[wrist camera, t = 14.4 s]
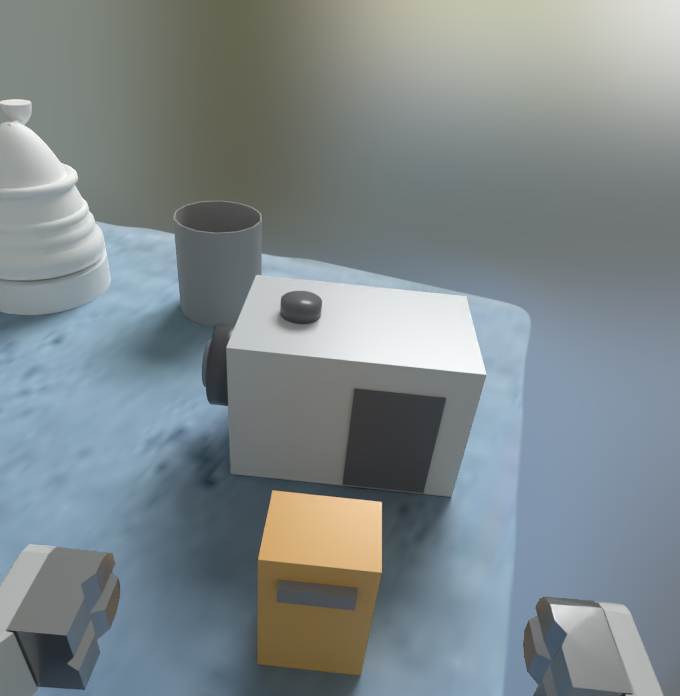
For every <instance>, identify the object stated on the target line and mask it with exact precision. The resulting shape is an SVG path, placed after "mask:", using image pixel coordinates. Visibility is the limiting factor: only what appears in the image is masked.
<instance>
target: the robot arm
mask: <svg viewBox="0 0 680 696" xmlns="http://www.w3.org/2000/svg"><path fill="white" fill-rule="evenodd" d="M114 565H115V561H114V558H113V554H112V553H107V552H98V551H88V550H79V549H70V548H61V547H56V546H45V545H35V544H29V545H28V546H27V547H26V548H25V549H24V550H23V551H22V552H21V553H20V554H19V556H18V557H17V559H16V561H15V562H14V564H13V565H12V567H11V569H10V570H9V572H8V574H7V575H6V577H5V578H4V580H3V582H2V583H1V585H0V696H32V695H33V694H34V693H35V692H36V691H37V689H38V688H37V686H38V687H52V688H65V689H79V690H85V688H86V686H87V684H88V681H89V679H90V676H91V674H92V671H93V669H94V667H95V664H96V662H97V659H98V657H99V654H100V650H99V646H98V643H97V639H98V638H99V637H101V636H102V635H103V634H104V633H105V632H107V631H108V630H109V629H110V627H111V625H112V622H113V620H114V617H115V614H116V611H117V606H118V602H119V598H120V584H119V579H118V577H117V576H115V575H114V574H113V573H112V570H113V568H114ZM536 611H537V616H536V617H534V618H532V619H530V620H529V621H528V624H527V626H526V628H525V631H524V642H523V647H524V658H525V663H526V667H527V672H528V673H529V674H530V675H531V676H532V678H533V679H534V680H535V681H536V683H537V684H538V686H537V688H536V691H535V693H534V695H533V696H663V693H662V691H661V688H660V685H659V683H658V681H657V678H656V675H655V673H654V671H653V668H652V665H651V663H650V661H649V658H648V655H647V653H646V651H645V648H644V646H643V643H642V641H641V638H640V636H639V633H638V631H637V628H636V626H635V623H634V621H633V618H632V616H631V613H630V611H629V610H628V609H627V608H626V606H624V605H622V604H615V603H604V602H595V601H590V600H578V599H565V598H554V597H543V598H541V599H539V601H538V603H537V605H536Z"/></svg>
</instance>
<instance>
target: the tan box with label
mask: <svg viewBox="0 0 680 696" xmlns="http://www.w3.org/2000/svg"><path fill="white" fill-rule="evenodd" d="M381 575H382V502H378V501H369V500H359V499H350V498H340V497H331V496H321V495H312V494H302V493H293V492H283V491H274V490H272V495H271V500H270V505H269V509H268V514H267V519H266V524H265V528H264V533H263V538H262V543H261V547H260V552H259V557H258V655H257V664H259V665H268V666H277V667H287V668H296V669H305V670H315V671H324V672H333V673H343V674H352V675H361V672H362V667H363V662H364V657H365V652H366V647H367V643H368V638H369V633H370V628H371V623H372V618H373V613H374V609H375V604H376V599H377V594H378V589H379V584H380V580H381Z"/></svg>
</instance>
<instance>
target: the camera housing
mask: <svg viewBox="0 0 680 696" xmlns="http://www.w3.org/2000/svg"><path fill="white" fill-rule="evenodd" d="M485 378H486V371H485V368H484V364H483V360H482V356H481V352H480V348H479V344H478V341H477V337H476V333H475V329H474V325H473V321H472V318H471V314H470V310H469V306H468V302H467V298H466V296H457V295H447V294H438V293H428V292H418V291H409V290H399V289H389V288H379V287H370V286H360V285H350V284H341V283H331V282H321V281H312V280H302V279H292V278H283V277H273V276H263V275H256V276H255V279H254V281H253V284H252V286H251V289H250V291H249V293H248V296H247V298H246V301H245V303H244V306H243V308H242V311H241V313H240V315H239V318H238V320H237V323H236V324H227V323H219V324H218V325H217V326H216V328H215V330H214V333H213V336H212V338H210V339H209V340H208V342H207V344H206V347H205V351H204V356H203V363H202V381H203V385H204V387H206V393H207V398H208V401H209V403H210V404H214V405H224V406H228V414H229V443H230V472H231V474H237V475H246V476H256V477H266V478H275V479H285V480H294V481H304V482H313V483H323V484H332V485H342V486H352V487H361V488H371V489H380V490H390V491H399V492H409V493H419V494H428V495H438V496H447V497H452V494H453V490H454V487H455V483H456V480H457V476H458V473H459V469H460V466H461V462H462V459H463V455H464V452H465V448H466V444H467V441H468V437H469V434H470V430H471V427H472V423H473V420H474V416H475V413H476V409H477V406H478V402H479V399H480V395H481V392H482V388H483V385H484V381H485Z"/></svg>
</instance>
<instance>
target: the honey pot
mask: <svg viewBox="0 0 680 696" xmlns="http://www.w3.org/2000/svg"><path fill="white" fill-rule="evenodd" d="M0 105H1V108H2V110H3V112H4V114H5V115H6V116H7V118H8V119H9V120H10V121H7V122H4V123H1V124H0V312H3V313H9V314H17V315H42V314H50V313H57V312H62V311H66V310H70V309H74V308H77V307H79V306H82V305H84V304H87V303H89V302H91V301H93V300H95V299H96V298H98V297H99V296H101V295H102V294H103V293H104V292H105V291H106V290H107V289H108V288H109V285H110V282H111V277H110V271H109V265H108V259H107V253H106V247H105V244H104V241H105V240H104V236H103V233H102V231H101V229H100V228H99V227H98V226H97V225H96V224H95V221H94V218H93V215H92V214H91V213H90V212H89V208H88V204H87V202H86V201H85V200H84V199H83V198H82V197H81V195H80V193H79V192H78V190H77V188H76V187H75V184H76V182H77V180H78V176H77V173H76V171H75V170H74V169H73V168H71V167H70V166H68V165H65V164H63V163H60V161H59V160H58V159H57V157H56V156H55V155H54V153H53V152H52V151H51V150H50V148H49V147H48V146H47V145H46V144H45V143H44V141H42V140H41V138H39V136H37V135H36V134H35V133H34V132H33V131H32V130H30V129H29V128H27V127H26V126H24V125H25V124H26V122H27V121H28V120H29V118H30V116H31V112H32V106H31V102H30V101H27V100H18V99H16V100H15V99H13V100H4V101H1V102H0Z"/></svg>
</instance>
